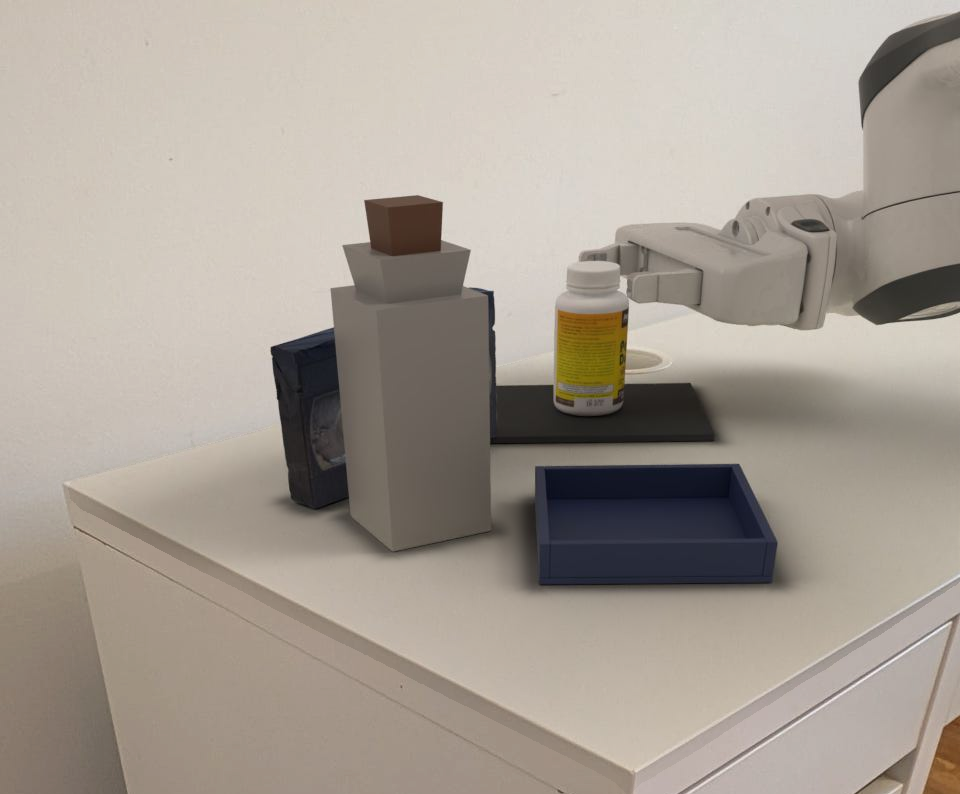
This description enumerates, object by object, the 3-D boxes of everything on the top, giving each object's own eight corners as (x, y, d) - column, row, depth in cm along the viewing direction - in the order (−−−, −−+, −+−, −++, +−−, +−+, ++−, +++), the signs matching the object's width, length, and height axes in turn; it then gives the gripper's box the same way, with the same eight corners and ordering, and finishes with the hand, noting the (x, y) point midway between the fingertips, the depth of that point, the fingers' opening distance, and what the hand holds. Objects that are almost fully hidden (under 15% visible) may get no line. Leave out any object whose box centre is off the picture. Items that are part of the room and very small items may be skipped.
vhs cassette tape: (313, 511, 75) (292, 351, 68) (285, 501, 76) (261, 343, 70) (504, 437, 85) (500, 291, 78) (475, 429, 86) (469, 285, 80)
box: (735, 500, 75) (739, 463, 73) (772, 582, 64) (778, 542, 63) (534, 502, 75) (535, 465, 74) (538, 584, 65) (539, 544, 63)
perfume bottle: (350, 516, 74) (322, 198, 63) (444, 497, 76) (432, 189, 65) (392, 551, 69) (370, 214, 58) (491, 530, 71) (486, 203, 61)
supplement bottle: (628, 417, 88) (637, 271, 82) (557, 420, 88) (560, 274, 82) (617, 397, 93) (624, 257, 86) (549, 399, 92) (552, 259, 86)
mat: (690, 388, 96) (690, 382, 96) (714, 440, 85) (714, 434, 84) (477, 391, 96) (477, 385, 96) (472, 443, 85) (472, 437, 85)
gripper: (713, 197, 94) (556, 209, 91) (849, 236, 79) (665, 251, 75) (705, 281, 98) (555, 295, 95) (833, 334, 82) (658, 352, 79)
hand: (605, 276), depth 85 cm, fingers open, 8 cm apart
